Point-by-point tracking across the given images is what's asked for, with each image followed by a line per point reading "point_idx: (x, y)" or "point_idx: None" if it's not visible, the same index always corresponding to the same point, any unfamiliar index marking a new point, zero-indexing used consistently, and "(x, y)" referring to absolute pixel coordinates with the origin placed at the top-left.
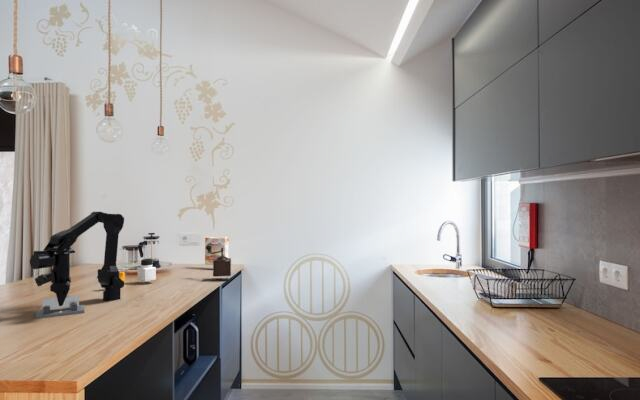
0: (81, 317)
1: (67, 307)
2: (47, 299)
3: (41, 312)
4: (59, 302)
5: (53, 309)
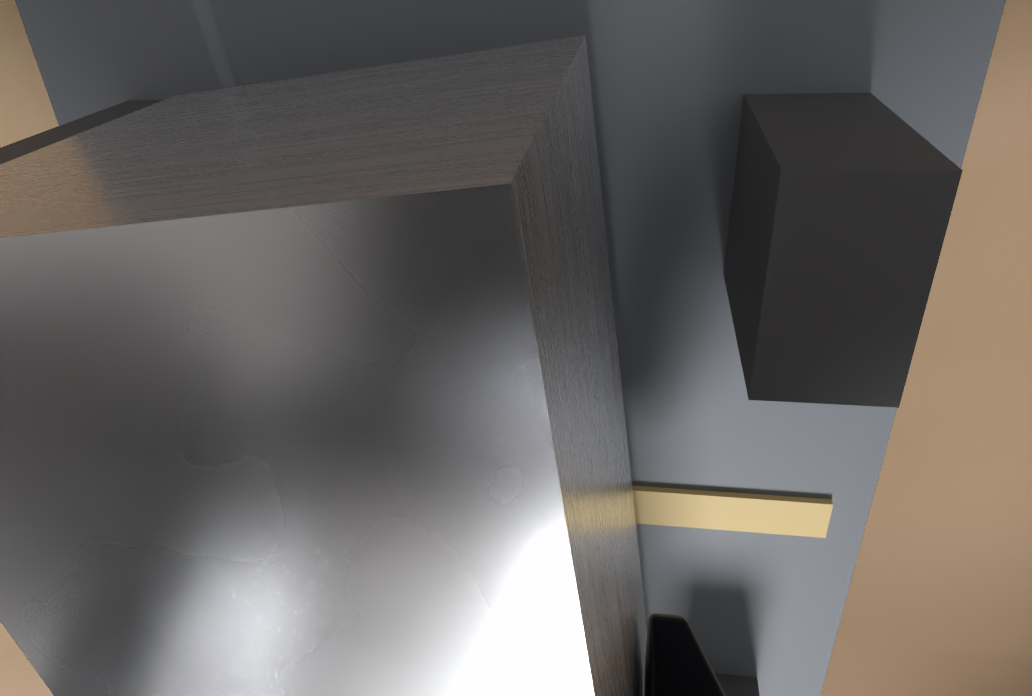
0: (14, 659)
1: (721, 613)
2: (16, 493)
3: (452, 7)
4: None
5: (703, 341)
